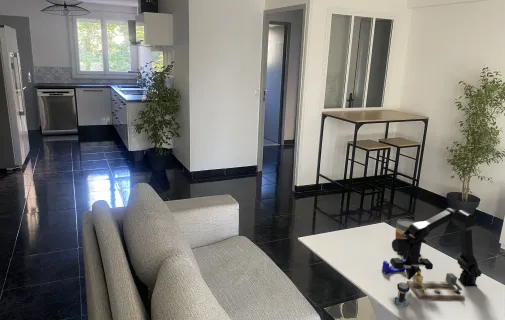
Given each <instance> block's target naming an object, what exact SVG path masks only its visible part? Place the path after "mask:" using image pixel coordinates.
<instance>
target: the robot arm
mask: <svg viewBox="0 0 505 320" xmlns="http://www.w3.org/2000/svg"><path fill="white" fill-rule="evenodd" d="M452 220H455V221H456V224H457V226H458V227H459V229H460V231H459V232H460V245H461V247H460V249H461V253H460V255H458V256H457V264H458V266H459V268H460V269H461V273H460V275H459V277H457V280H458V282H459V283H461V284H462V285H463V286H464V287H476V288H477V287H478V284H476V282H477V279H478V277H479V278H480V277H481V276H482V271H481V270H480V268H479V265H478V260H477V259H476V257H475V255H474V245H473V244H474V243H473V242H474V241H473V228H474V227H475V226H476V216H475V215H473V214H472V213H471V212H468V211H466V210H465V209H460V210H458V209H455V208H451V207H447V208H445V209H444V210H443V211H441V212H440V213H438V214H436V215H434V216H431V217H430V218H428V219H425V220H424V221H423V220H422V221H415V222H416V223H413V224H411V225H410V226H409V228H408V229H407V230H406V231H405V232H404V233H403V236H404V237H396V236H395V238H394V239H393V240H392V242H391V249H392V250H393V251H394V252H395V253H397V256H400V257H402V259H404V260H405V261H401V260H400V259H401V258H399V257H391V258H390V259H389V260H390V261H389V264H390V266H393V267H394V268H395V269H402V268H403V267H404V269H405V273H406V278H407V281H411V280H412V277H413V276H414V275H415V274H416V273H417V272H418V271H420V270H421V271H422V269H421V268H420V267H422V266H424V268H425V269H426V270H433V268H434V264H433V263H432V262H431V261H430V259H428V258H421V257H422V254H421V249H422V244H423V243H427V240H426V239H425V238H427V236H428V235H430V233H431V232H432V231H433V230H434V229H436V228H438V227H440V226H443V225H444V224H446V223H448V222H449V221H452ZM409 234H411V235H412V236H414V238H412V237H411V236H410V235H409Z"/></svg>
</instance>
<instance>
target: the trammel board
mask: <svg viewBox="0 0 505 320" xmlns="http://www.w3.org/2000/svg"><path fill="white" fill-rule="evenodd" d="M422 283H423V284H424V285H425V286H426V288H427V290H424V292H422V288H423V287H422V286H421V285H420V284H416V283H415V282H414V281H413V280H407V281H406V284H408V286H409V287H410V289H411V291H412V292H413V293H414V295H415V296H416V297H417V298H418V299H419V300H456V301H457V300H458V301H465V300H466V297H465V296H464V294H462V293H463V292H461V291H460V290H459V293H457V287H456V286H455V285H449V284H448V283H447V282H446V281H429V280H423V281H422Z"/></svg>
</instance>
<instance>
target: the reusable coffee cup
mask: <svg viewBox="0 0 505 320" xmlns="http://www.w3.org/2000/svg"><path fill="white" fill-rule="evenodd" d="M416 222H417V221H414V220H412V219H408V218H400V219H397V221H396V225H395V227H396V229H395V238H396V237H404V236H403V233H404V232H405V231H406V230H407V229H408V228H409V226H410V225H411V224H413V223H416ZM409 235H410V236H411V237H412V238H414V236H412V235H411V234H409Z"/></svg>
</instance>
